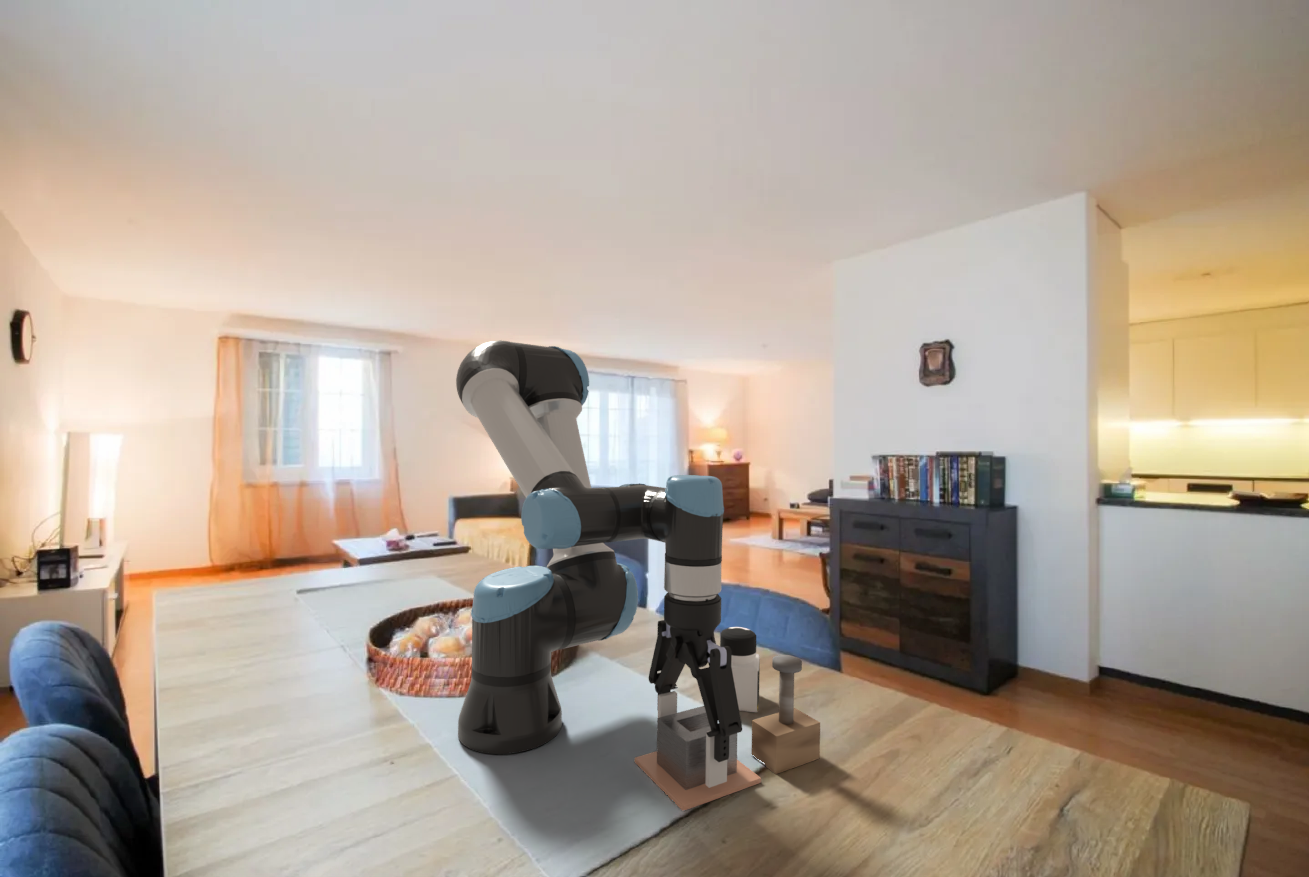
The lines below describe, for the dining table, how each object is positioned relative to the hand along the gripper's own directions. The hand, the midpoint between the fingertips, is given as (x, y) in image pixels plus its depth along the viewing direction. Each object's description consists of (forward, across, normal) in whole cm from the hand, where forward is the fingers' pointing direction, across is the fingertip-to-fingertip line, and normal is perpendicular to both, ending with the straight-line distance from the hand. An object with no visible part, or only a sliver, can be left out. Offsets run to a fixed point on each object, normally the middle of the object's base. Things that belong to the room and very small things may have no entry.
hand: (689, 760), depth 77 cm
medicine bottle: (+2, +14, -19) cm, 24 cm away
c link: (+1, 0, -1) cm, 2 cm away
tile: (+2, 0, -1) cm, 2 cm away
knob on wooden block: (+2, -3, -14) cm, 14 cm away
